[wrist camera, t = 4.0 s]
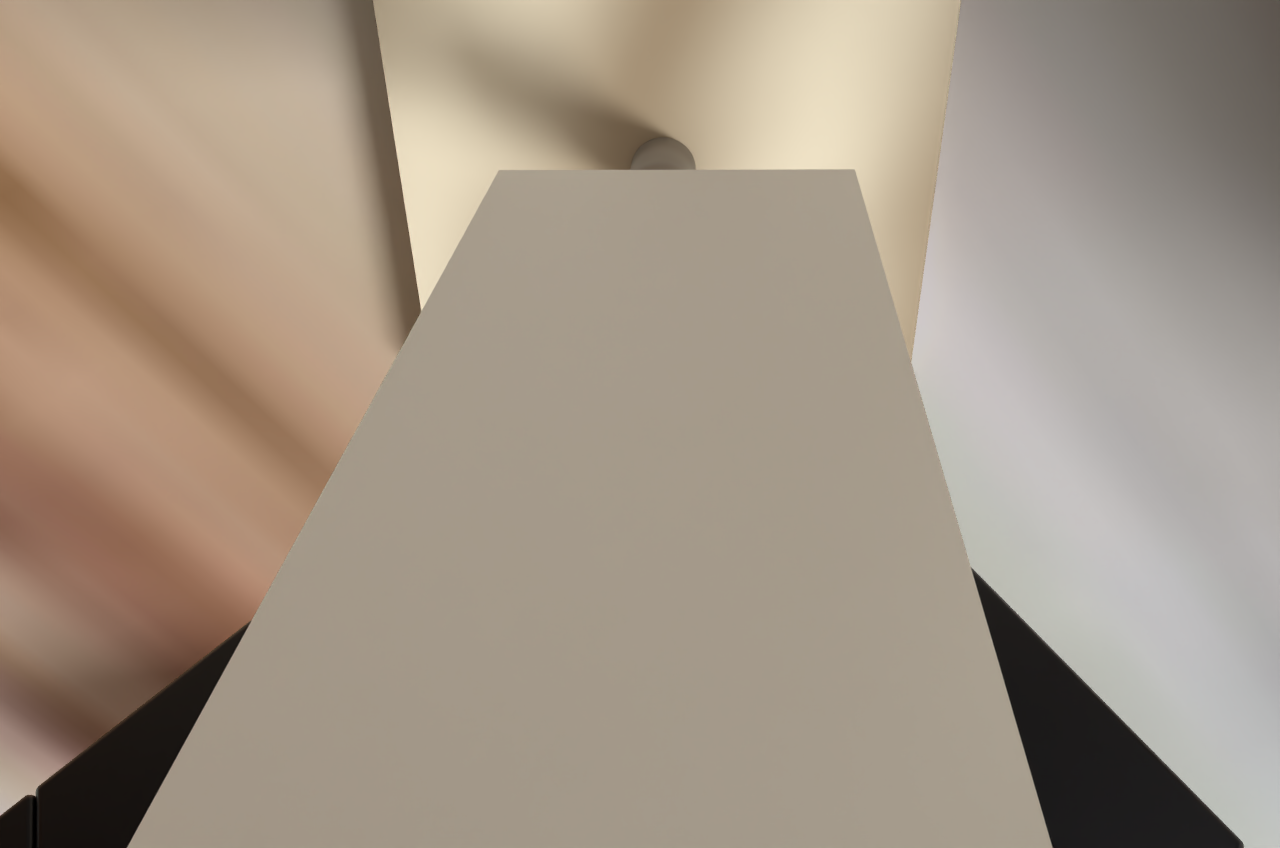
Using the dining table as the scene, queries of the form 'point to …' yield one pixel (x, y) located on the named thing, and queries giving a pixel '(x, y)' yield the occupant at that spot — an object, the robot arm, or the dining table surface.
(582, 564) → the strut
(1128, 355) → the dining table surface
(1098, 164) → the dining table surface
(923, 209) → the stud base
